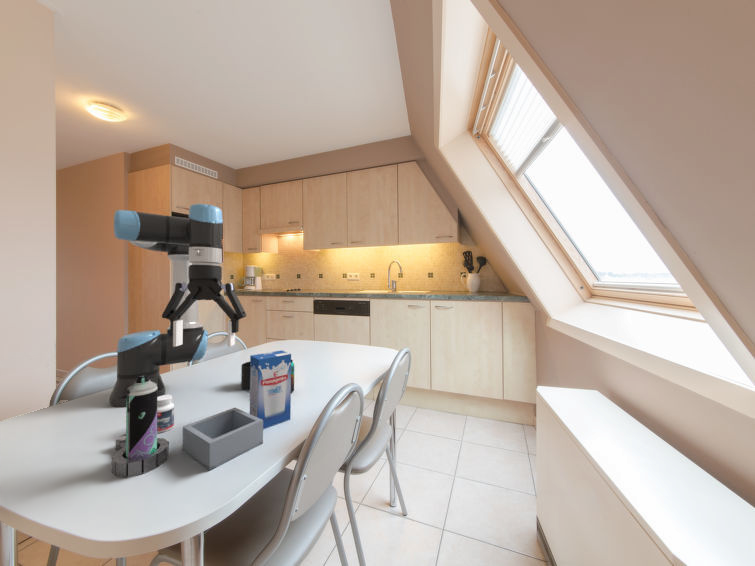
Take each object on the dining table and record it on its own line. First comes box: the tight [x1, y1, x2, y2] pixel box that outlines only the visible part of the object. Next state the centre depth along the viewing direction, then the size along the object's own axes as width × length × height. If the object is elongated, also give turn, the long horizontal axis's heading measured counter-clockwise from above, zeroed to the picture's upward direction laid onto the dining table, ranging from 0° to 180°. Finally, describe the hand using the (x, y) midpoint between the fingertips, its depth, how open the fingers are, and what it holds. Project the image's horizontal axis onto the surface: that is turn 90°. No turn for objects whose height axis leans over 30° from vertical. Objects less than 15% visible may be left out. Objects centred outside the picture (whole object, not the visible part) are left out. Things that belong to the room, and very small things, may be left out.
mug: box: [240, 361, 250, 391], centre depth 113 cm, size 9×12×9 cm
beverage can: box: [291, 359, 295, 394], centre depth 108 cm, size 7×7×12 cm
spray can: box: [125, 375, 158, 459], centre depth 65 cm, size 6×6×20 cm
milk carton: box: [249, 349, 292, 430], centre depth 86 cm, size 10×6×20 cm, turn 135°
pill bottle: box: [157, 394, 175, 434], centre depth 81 cm, size 5×5×9 cm
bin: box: [182, 407, 264, 471], centre depth 72 cm, size 13×13×6 cm
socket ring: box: [111, 433, 170, 479], centre depth 68 cm, size 17×10×3 cm, turn 56°
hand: (204, 345), depth 75 cm, fingers open, 13 cm apart
